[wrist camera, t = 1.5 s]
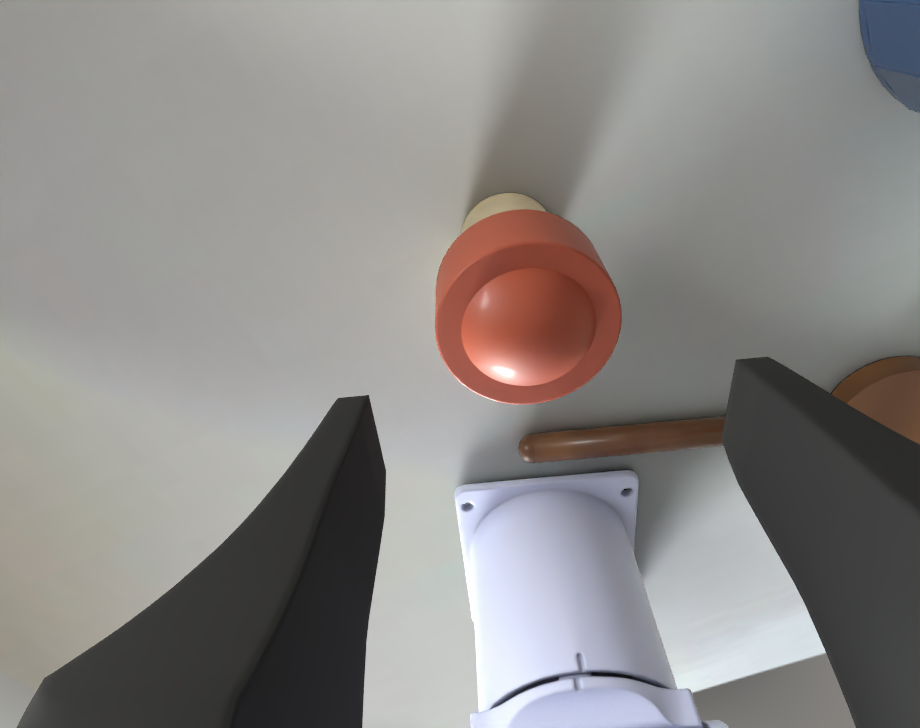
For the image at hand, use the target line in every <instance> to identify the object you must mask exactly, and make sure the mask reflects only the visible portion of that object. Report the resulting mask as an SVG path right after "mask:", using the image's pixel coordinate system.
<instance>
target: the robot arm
mask: <svg viewBox="0 0 920 728" xmlns="http://www.w3.org/2000/svg"><path fill="white" fill-rule="evenodd" d="M721 440H722V443H723V445H724V448H725V451H726V453H727V456H728V459H729V462H730V464H731V467H732V469H733V472H734V474H735V476H736V479H737V481H738V484H739V486H740V488H741V489H742V491H743V493H744V495H745V497H746V499H747V500H748V502H749V504H750V506H751V507H752V509H753V511H754V513H755V515H756V516H757V518H758V520H759V522H760V524H761V525H762V527H763V529H764V531H765V532H766V534H767V536H768V538H769V539H770V541H771V543H772V545H773V546H774V548H775V550H776V552H777V553H778V555H779V557H780V559H781V560H782V562H783V564H784V566H785V567H786V569H787V571H788V573H789V574H790V576H791V578H792V580H793V581H794V583H795V585H796V587H797V589H798V591H799V593H800V595H801V597H802V599H803V601H804V603H805V605H806V607H807V609H808V612H809V614H810V616H811V619H812V621H813V623H814V626H815V628H816V630H817V632H818V635H819V637H820V639H821V642H822V644H823V646H824V648H825V651H826V653H827V655H828V658H829V660H830V663H831V665H832V668H833V670H834V673H835V675H836V677H837V680H838V682H839V685H840V687H841V690H842V692H843V695H844V697H845V699H846V702H847V705H848V707H849V710H850V713H851V715H852V718H853V721H854V723H855V726H856V728H920V444H918V443H916V442H914V441H912V440H910V439H908V438H906V437H904V436H903V435H901V434H899V433H897V432H895V431H893V430H891V429H890V428H888V427H886V426H884V425H882V424H881V423H879V422H877V421H875V420H874V419H872V418H870V417H868V416H867V415H865V414H863V413H861V412H860V411H858V410H856V409H855V408H853V407H851V406H850V405H848V404H846V403H845V402H843V401H841V400H840V399H838V398H836V397H835V396H833V395H831V394H830V393H828V392H826V391H825V390H823V389H822V388H820V387H818V386H817V385H815V384H813V383H812V382H810V381H809V380H807V379H805V378H804V377H802V376H800V375H799V374H797V373H795V372H794V371H792V370H790V369H789V368H787V367H785V366H784V365H782V364H780V363H778V362H777V361H775V360H773V359H771V358H769V357H761V358H750V359H740V360H736V362H735V368H734V373H733V379H732V384H731V390H730V395H729V401H728V406H727V412H726V417H725V423H724V428H723V434H722V439H721ZM385 486H386V469H385V465H384V460H383V456H382V452H381V447H380V443H379V438H378V434H377V430H376V425H375V421H374V416H373V412H372V408H371V403H370V399H369V395H366V396H355V397H345V398H338V399H337V400H336V401H335V403H334V404H333V405H332V407H331V408H330V410H329V411H328V413H327V414H326V416H325V417H324V419H323V420H322V422H321V423H320V425H319V426H318V428H317V429H316V431H315V432H314V433H313V435H312V436H311V438H310V439H309V441H308V442H307V444H306V445H305V446H304V448H303V449H302V450H301V452H300V453H299V454H298V456H297V457H296V459H295V460H294V461H293V463H292V464H291V465H290V467H289V468H288V469H287V471H286V472H285V473H284V475H283V476H282V477H281V478H280V480H279V481H278V482H277V483H276V484H275V486H274V487H273V488H272V489H271V490H270V492H269V493H268V494H267V495H266V496H265V498H264V499H263V500H262V501H261V503H260V504H259V505H258V506H257V507H256V508H255V509H254V511H253V512H252V513H251V514H250V515H249V516H248V517H247V518H246V519H245V521H244V522H243V523H242V524H241V525H240V526H239V527H238V528H237V529H236V530H235V531H234V532H233V533H232V534H231V535H230V536H229V537H228V538H227V539H226V540H225V541H224V542H223V543H222V544H221V545H220V546H219V547H218V548H217V549H216V550H215V551H214V552H213V553H211V554H210V555H209V556H208V557H207V558H206V559H205V560H204V561H202V562H201V563H200V564H199V565H198V566H197V567H196V568H194V569H193V570H192V571H191V572H190V573H189V574H188V575H187V576H185V577H184V578H183V579H182V580H181V581H180V582H179V583H177V584H176V585H175V586H174V587H173V588H171V589H170V590H169V591H168V592H166V593H165V594H164V595H163V596H161V597H160V598H159V599H158V600H156V601H155V602H154V603H153V604H151V605H150V606H149V607H147V608H146V609H145V610H143V611H142V612H141V613H139V614H138V615H137V616H135V617H134V618H133V619H131V620H130V621H129V622H127V623H126V624H125V625H123V626H122V627H121V628H119V629H118V630H116V631H115V632H113V633H112V634H111V635H109V636H108V637H106V638H105V639H103V640H102V641H100V642H99V643H97V644H96V645H94V646H93V647H91V648H90V649H88V650H87V651H85V652H84V653H82V654H81V655H79V656H78V657H76V658H75V659H73V660H72V661H70V662H69V663H67V664H66V665H64V666H63V667H61V668H60V669H58V670H57V671H55V672H54V673H52V674H50V675H49V676H47V677H46V678H44V680H43V681H42V683H41V685H40V686H39V688H38V690H37V691H36V693H35V695H34V697H33V698H32V700H31V702H30V704H29V705H28V707H27V709H26V711H25V712H24V714H23V716H22V718H21V720H20V722H19V724H18V726H17V728H362V718H363V694H364V674H365V656H366V639H367V630H368V621H369V614H370V607H371V601H372V595H373V588H374V582H375V575H376V569H377V563H378V556H379V550H380V543H381V537H382V530H383V523H384V516H385ZM626 488H629V489H628V490H625V491H624V489H626ZM638 488H639V480H638V477H637V475H636V473H635V472H633V471H631V470H621V471H610V472H599V473H588V474H577V475H566V476H555V477H543V478H532V479H521V480H510V481H499V482H488V483H477V484H466V485H461V486H459V487H458V488H457V489H456V490H455V502H456V509H457V516H458V523H459V530H460V537H461V544H462V551H463V558H464V565H465V572H466V579H467V586H468V593H469V600H470V607H471V614H472V619H473V621H474V622H475V641H476V662H477V682H478V703H479V712H475V713H472V714H471V715H470V726H471V728H729V727H728V726H727V725H726V724H725V723H723V722H722V721H720V720H711V721H701V719H700V716H699V713H698V710H697V707H696V704H695V701H694V698H693V695H692V692H691V690H689V689H677V686H676V683H675V680H674V677H673V674H672V671H671V668H670V665H669V662H668V659H667V655H666V652H665V649H664V646H663V643H662V640H661V637H660V634H659V631H658V628H657V625H656V621H655V618H654V615H653V612H652V609H651V606H650V603H649V600H648V597H647V594H646V591H645V588H644V584H643V581H642V578H641V575H640V572H639V569H638V566H637V563H636V560H635V557H634V541H635V527H636V514H637V501H638ZM466 502H468V503H471V504H464V503H466Z"/></svg>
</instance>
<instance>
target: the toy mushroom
mask: <svg viewBox="0 0 920 728" xmlns="http://www.w3.org/2000/svg"><path fill="white" fill-rule="evenodd" d="M621 322H622V312H621V304H620V299H619V296H618V293H617V290H616V287H615V286H614V284H613V282H612V280H611V278H610V276H609V274H608V273H607V271H606V269H605V267H604V265H603V263H602V261H601V259H600V258H599V256H598V254H597V252H596V250H595V248H594V246H593V245H592V243H591V242H590V240H589V239H588V238H587V236H586V235H585V234H584V233H583V232H582V231H581V230H580V229H579V228H577V227H576V226H575V225H573V224H572V223H571V222H569V221H567V220H565V219H563V218H562V217H560V216H557V215H554V214H552V213H548V212H547V211H546V210H545V209H544V208H543V207H542V206H541V205H540V204H539V203H538V202H537V201H535V200H534V199H532V198H530V197H528V196H525V195H522V194H517V193H502V194H497V195H494V196H491V197H489V198H486V199H485V200H483V201H481V202H480V203H479V204H478V205H476V206H475V207H474V208H473V209H472V210H471V212H470V213H469V214H468V216H467V218H466V219H465V221H464V224H463V226H462V231H461V235H460V236H459V237H458V238H457V239H456V240H455V241H454V243H453V244H452V245H451V247H450V248H449V249H448V251H447V253H446V254H445V256H444V258H443V260H442V263H441V265H440V268H439V272H438V276H437V283H436V312H435V332H436V341H437V346H438V349H439V352H440V355H441V357H442V359H443V361H444V363H445V365H446V366H447V368H448V369H449V370H450V372H451V373H452V374H453V376H455V377H456V378H457V379H458V380H459V381H460V382H461V383H462V384H463V385H464V386H466V387H467V388H468V389H470V390H471V391H473V392H475V393H477V394H478V395H481V396H483V397H485V398H488V399H491V400H494V401H498V402H502V403H508V404H536V403H542V402H547V401H551V400H554V399H557V398H560V397H562V396H565V395H567V394H569V393H571V392H573V391H575V390H577V389H578V388H580V387H581V386H583V385H584V384H586V383H587V382H588V381H589V380H591V379H592V378H593V377H594V376H595V375H596V374H597V373H598V372H599V371H600V370H601V369H602V368H603V366H604V365H605V364H606V362H607V361H608V359H609V358H610V356H611V354H612V353H613V351H614V348H615V346H616V344H617V341H618V338H619V334H620V330H621Z"/></svg>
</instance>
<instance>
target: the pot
mask: <svg viewBox="0 0 920 728" xmlns="http://www.w3.org/2000/svg"><path fill="white" fill-rule="evenodd" d="M859 18H860V29H861V35H862V40H863V44H864V48H865V52H866V55H867V57H868V59H869V62H870V64H871V67H872V69H873V71H874V73H875V74H876V76H877V77H878V79H879V80H880V82H881V84H882V85H883V86H884V87H885V88H886V89H887V90H888V92H889V93H890V94H891V95H892V96H893V97H894V98H895V99H897V100H898V101H900V102H901V103H902V104H904V105H905V107H907V108H908V109H910V110H913V111H915V112H918V113H920V0H859Z"/></svg>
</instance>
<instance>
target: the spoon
mask: <svg viewBox="0 0 920 728" xmlns="http://www.w3.org/2000/svg"><path fill="white" fill-rule="evenodd" d="M831 395H833V396H835V397H836V398H838V399H840V400H841V401H843V402H845V403H846V404H848V405H850V406H851V407H853V408H855V409H856V410H858V411H860V412H861V413H863V414H865V415H867V416H868V417H870V418H872V419H874V420H875V421H877V422H879V423H881V424H882V425H884V426H886V427H888V428H890V429H891V430H893V431H895V432H897V433H899V434H901V435H903V436H904V437H906V438H908V439H910V440H912V441H914V442H916V443H918V444H920V358H919V357H913V356H899V357H892V358H887V359H883V360H880V361H877V362H874V363H872V364H869V365H867V366H865V367H863V368H861V369H859V370H858V371H856V372H854V373H853V374H851V375H850V376H849V377H847V378H846V379H845V380H844V381H842V382H841V383H840V384H839V385H838V386H837V387H836V388H835V390H834V391H833V392H832V393H831ZM725 417H726V416H720V417H710V418H699V419H688V420H677V421H666V422H655V423H645V424H634V425H623V426H612V427H601V428H591V429H580V430H569V431H558V432H547V433H536V434H529V435H526V436H525V437H523V438H522V439H521V441H520V443H519V454H520V456H521V457H522V458H523V459H524V460H525V461H527V462H529V463H542V462H553V461H564V460H575V459H586V458H597V457H608V456H619V455H630V454H641V453H652V452H663V451H674V450H685V449H696V448H707V447H718V446H724V445H723V443H722V440H721V439H722V434H723V428H724V423H725Z"/></svg>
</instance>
